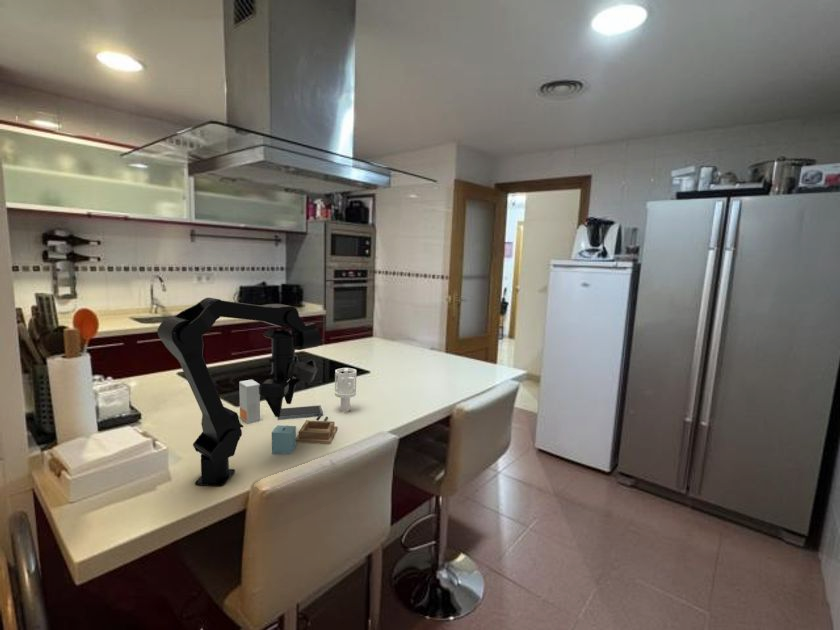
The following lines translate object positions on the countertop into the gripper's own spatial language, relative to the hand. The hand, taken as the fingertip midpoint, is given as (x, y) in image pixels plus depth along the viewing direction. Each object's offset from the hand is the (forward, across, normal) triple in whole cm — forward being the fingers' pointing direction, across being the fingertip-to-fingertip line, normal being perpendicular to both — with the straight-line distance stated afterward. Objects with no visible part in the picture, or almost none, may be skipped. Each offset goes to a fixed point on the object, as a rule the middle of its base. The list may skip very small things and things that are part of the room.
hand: (283, 410), depth 108 cm
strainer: (+11, +30, -11) cm, 34 cm away
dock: (+11, +10, -7) cm, 16 cm away
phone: (+11, +25, +3) cm, 28 cm away
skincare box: (+12, +19, +17) cm, 28 cm away
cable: (+11, +21, -5) cm, 25 cm away
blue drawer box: (+11, 0, 0) cm, 11 cm away
